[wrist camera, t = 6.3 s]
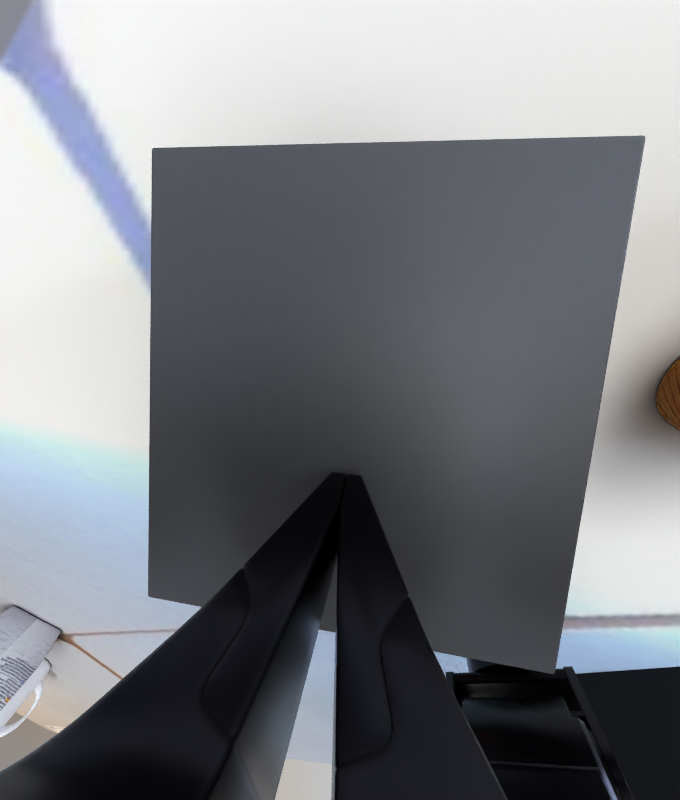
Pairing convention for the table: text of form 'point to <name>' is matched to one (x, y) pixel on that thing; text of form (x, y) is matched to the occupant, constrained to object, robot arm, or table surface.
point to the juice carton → (21, 649)
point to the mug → (23, 698)
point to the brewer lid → (388, 363)
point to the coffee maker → (640, 726)
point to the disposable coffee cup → (670, 396)
